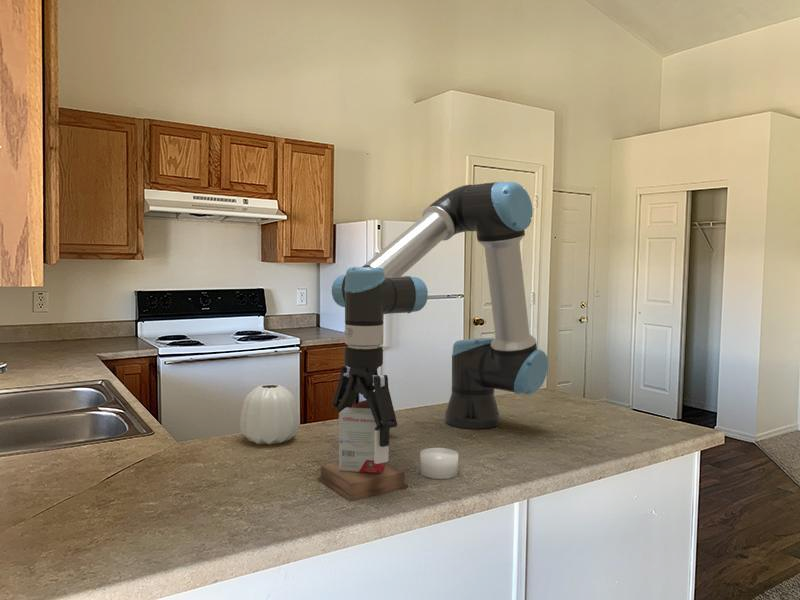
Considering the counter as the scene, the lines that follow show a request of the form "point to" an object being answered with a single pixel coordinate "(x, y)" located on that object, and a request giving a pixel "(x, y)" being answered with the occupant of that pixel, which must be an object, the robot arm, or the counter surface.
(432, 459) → the white dome button
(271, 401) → the vase
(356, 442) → the ink box
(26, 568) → the counter surface
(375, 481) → the podium
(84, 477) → the counter surface
